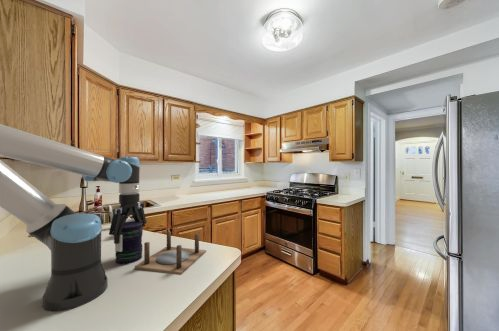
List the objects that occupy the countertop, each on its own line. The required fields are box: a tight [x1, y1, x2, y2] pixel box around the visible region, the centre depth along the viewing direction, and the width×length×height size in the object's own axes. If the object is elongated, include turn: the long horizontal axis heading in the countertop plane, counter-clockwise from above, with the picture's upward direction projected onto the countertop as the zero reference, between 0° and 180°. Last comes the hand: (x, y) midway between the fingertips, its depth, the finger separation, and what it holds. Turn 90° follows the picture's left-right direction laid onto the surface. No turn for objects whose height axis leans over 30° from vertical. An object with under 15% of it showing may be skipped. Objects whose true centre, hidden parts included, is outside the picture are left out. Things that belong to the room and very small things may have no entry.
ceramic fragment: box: [108, 212, 124, 224], centre depth 134 cm, size 11×3×10 cm, turn 132°
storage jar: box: [114, 221, 144, 265], centre depth 87 cm, size 10×10×15 cm
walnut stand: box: [134, 230, 207, 275], centre depth 86 cm, size 20×20×10 cm
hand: (129, 246), depth 87 cm, fingers closed on storage jar, 10 cm apart
